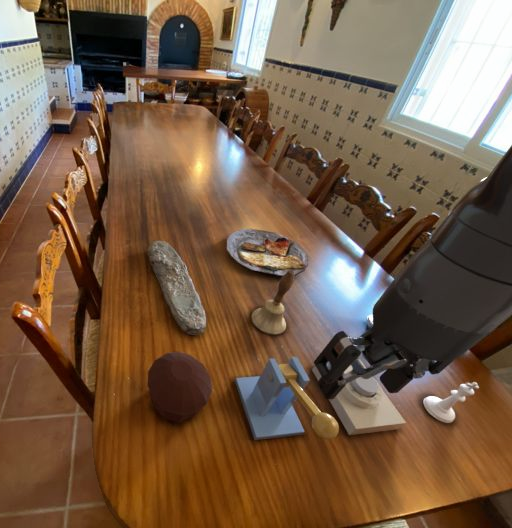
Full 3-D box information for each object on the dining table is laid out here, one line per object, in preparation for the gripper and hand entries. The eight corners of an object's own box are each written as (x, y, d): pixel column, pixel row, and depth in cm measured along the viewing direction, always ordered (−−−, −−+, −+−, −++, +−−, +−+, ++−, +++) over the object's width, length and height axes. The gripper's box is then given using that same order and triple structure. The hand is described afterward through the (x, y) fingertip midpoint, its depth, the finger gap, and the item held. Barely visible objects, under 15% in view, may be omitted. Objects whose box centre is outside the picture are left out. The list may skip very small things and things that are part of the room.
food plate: (299, 241, 102) (302, 232, 99) (313, 287, 84) (318, 277, 81) (226, 230, 104) (228, 221, 102) (224, 271, 86) (226, 262, 84)
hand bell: (254, 304, 77) (273, 255, 67) (287, 315, 74) (312, 267, 64) (248, 326, 71) (267, 277, 61) (283, 340, 69) (309, 290, 58)
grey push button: (378, 396, 55) (383, 391, 54) (359, 398, 54) (363, 393, 53) (364, 376, 58) (368, 371, 57) (345, 377, 57) (350, 373, 56)
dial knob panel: (397, 429, 54) (412, 418, 52) (349, 435, 53) (361, 424, 50) (353, 366, 64) (364, 354, 62) (311, 369, 63) (320, 357, 60)
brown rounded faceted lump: (137, 382, 58) (138, 352, 52) (186, 363, 62) (193, 333, 56) (162, 443, 50) (166, 416, 44) (217, 417, 54) (228, 389, 48)
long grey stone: (174, 344, 67) (214, 337, 70) (178, 330, 64) (220, 323, 67) (140, 248, 92) (170, 245, 94) (142, 234, 88) (173, 232, 91)
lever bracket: (302, 434, 53) (333, 399, 45) (254, 440, 51) (277, 405, 43) (276, 377, 61) (298, 339, 53) (234, 381, 60) (250, 342, 52)
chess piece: (457, 426, 55) (500, 401, 49) (428, 417, 57) (465, 391, 50) (447, 402, 59) (485, 375, 53) (419, 393, 60) (453, 366, 54)
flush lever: (341, 443, 39) (347, 425, 38) (319, 446, 39) (324, 428, 38) (288, 376, 51) (291, 361, 50) (271, 378, 51) (273, 362, 50)
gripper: (405, 336, 22) (319, 427, 33) (558, 325, 24) (431, 414, 35) (346, 271, 28) (288, 365, 38) (473, 267, 30) (385, 358, 40)
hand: (356, 388), depth 36 cm, fingers open, 8 cm apart
